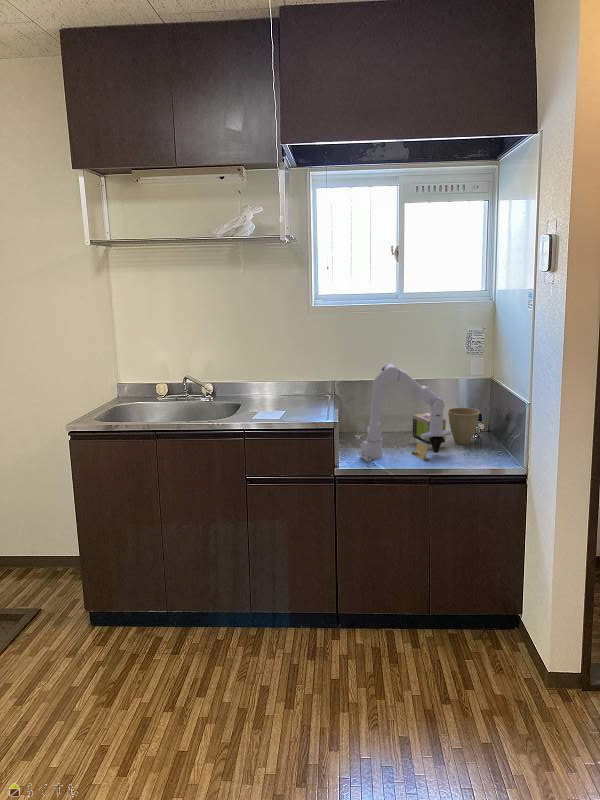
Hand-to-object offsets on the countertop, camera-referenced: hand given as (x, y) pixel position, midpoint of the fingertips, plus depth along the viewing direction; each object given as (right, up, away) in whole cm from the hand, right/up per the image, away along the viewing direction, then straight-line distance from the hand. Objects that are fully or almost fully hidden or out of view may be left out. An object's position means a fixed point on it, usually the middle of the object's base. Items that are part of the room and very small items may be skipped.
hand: (435, 452), depth 277 cm
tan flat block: (-8, 0, -3) cm, 8 cm away
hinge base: (-4, -3, -1) cm, 5 cm away
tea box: (0, +1, +18) cm, 18 cm away
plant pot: (+18, +3, +22) cm, 28 cm away
